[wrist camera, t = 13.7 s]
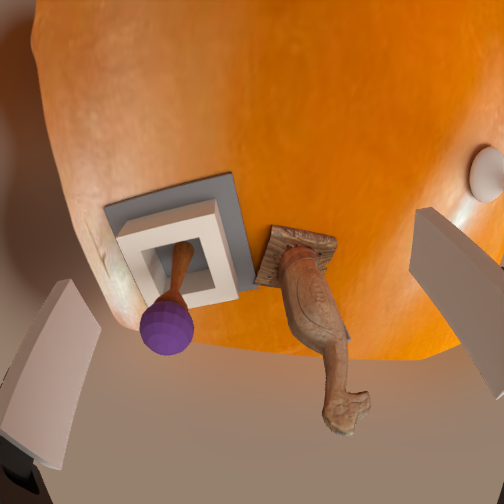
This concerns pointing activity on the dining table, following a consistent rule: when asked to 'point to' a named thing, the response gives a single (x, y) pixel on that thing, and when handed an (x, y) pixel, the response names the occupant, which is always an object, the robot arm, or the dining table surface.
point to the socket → (186, 229)
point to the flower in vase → (487, 175)
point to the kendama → (170, 310)
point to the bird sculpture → (314, 316)
